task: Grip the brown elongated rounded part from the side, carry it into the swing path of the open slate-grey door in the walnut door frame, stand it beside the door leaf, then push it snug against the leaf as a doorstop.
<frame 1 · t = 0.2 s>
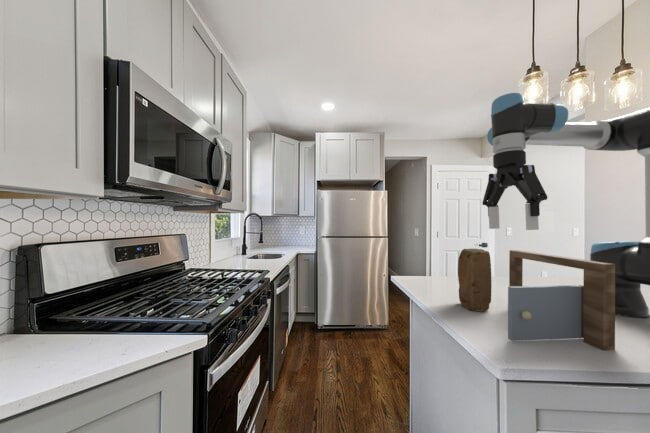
hand: (511, 229, 76), 28 cm above the countertop, tool pointing down, fingers open, 13 cm apart
brown elongated rounded part: (473, 307, 95), on the countertop
door frame: (547, 324, 80), on the countertop
door: (551, 313, 68), point 7 cm above the countertop, hinge at 90.0°
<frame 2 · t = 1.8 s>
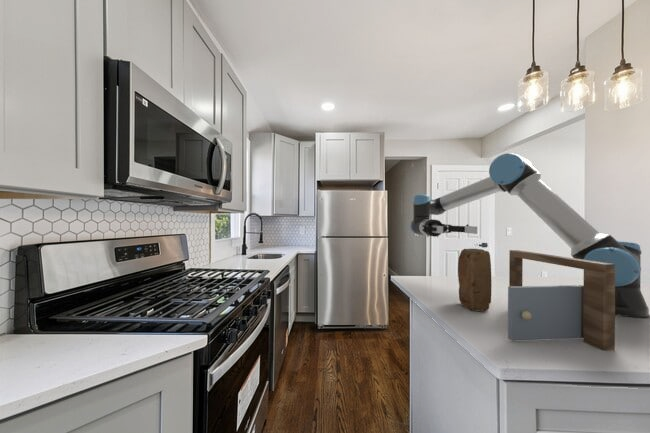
hand: (459, 230, 103), 26 cm above the countertop, tool horizontal, fingers open, 13 cm apart
nothing on the countertop moved.
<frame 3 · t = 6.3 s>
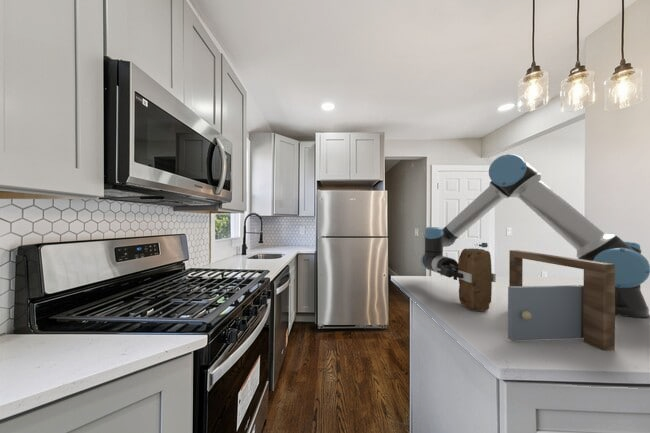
hand: (482, 278, 90), 11 cm above the countertop, tool horizontal, fingers closed on brown elongated rounded part, 8 cm apart
brown elongated rounded part: (473, 307, 95), on the countertop, touching gripper
everything else where it was.
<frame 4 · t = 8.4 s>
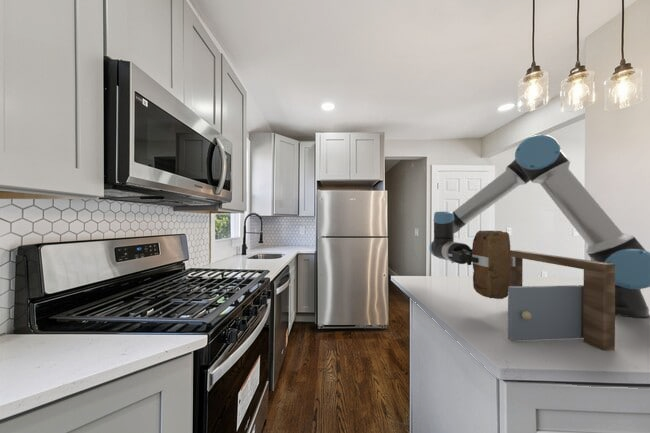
hand: (500, 262, 80), 18 cm above the countertop, tool horizontal, fingers closed on brown elongated rounded part, 8 cm apart
brown elongated rounded part: (489, 295, 85), point 7 cm above the countertop, touching gripper
everything else where it was.
when the fingers open (12 cm above the countertop, at t = 10.8 s): brown elongated rounded part drops 1 cm, on the countertop.
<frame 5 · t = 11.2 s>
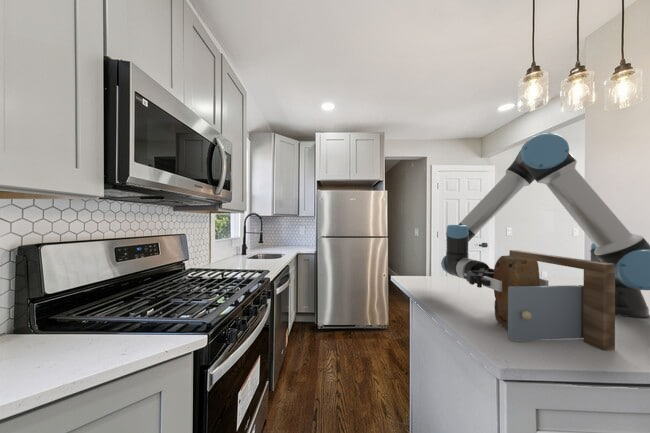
hand: (524, 286, 73), 12 cm above the countertop, tool horizontal, fingers open, 13 cm apart
brown elongated rounded part: (514, 328, 77), on the countertop
everything else where it was.
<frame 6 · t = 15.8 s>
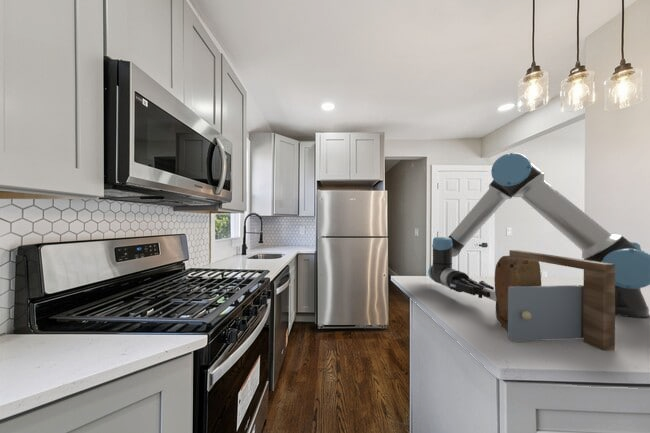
hand: (500, 297, 82), 7 cm above the countertop, tool horizontal, fingers closed
brown elongated rounded part: (515, 329, 76), on the countertop, touching gripper
everything else where it was.
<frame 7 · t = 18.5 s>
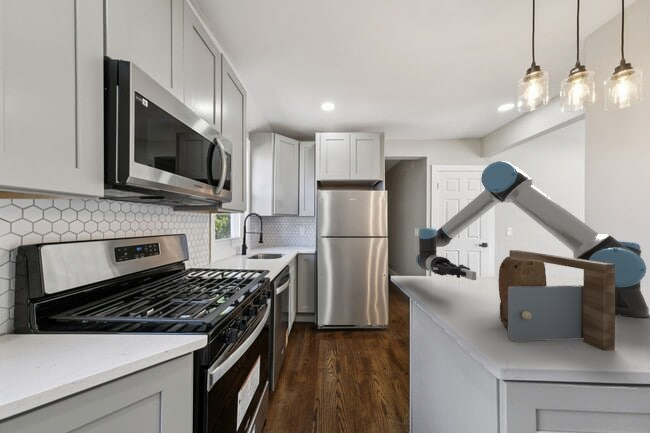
hand: (474, 275, 94), 11 cm above the countertop, tool horizontal, fingers closed
brown elongated rounded part: (520, 331, 75), on the countertop, touching door
door: (551, 313, 68), point 7 cm above the countertop, hinge at 90.1°, touching brown elongated rounded part
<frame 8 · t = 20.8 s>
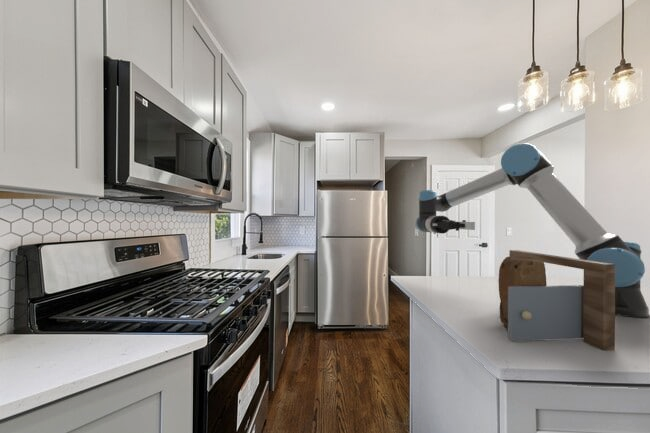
hand: (472, 225, 95), 28 cm above the countertop, tool horizontal, fingers closed
nothing on the countertop moved.
at the end: brown elongated rounded part inside the target area (1.0 cm from its centre), on the countertop; brown elongated rounded part tilted 0°; door at +90° (first picture: +90°) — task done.
